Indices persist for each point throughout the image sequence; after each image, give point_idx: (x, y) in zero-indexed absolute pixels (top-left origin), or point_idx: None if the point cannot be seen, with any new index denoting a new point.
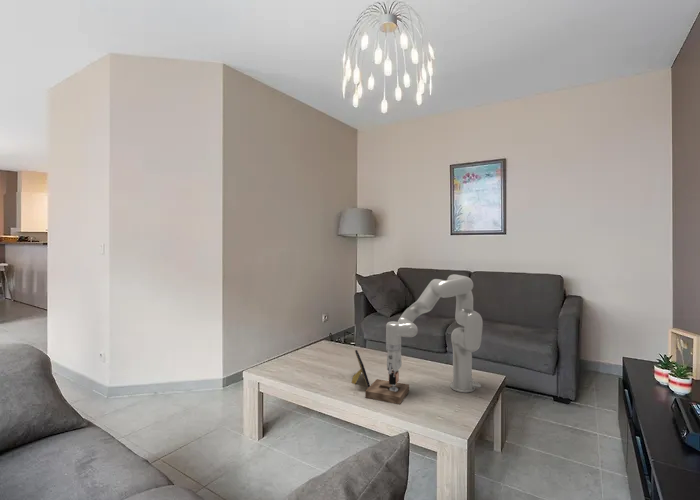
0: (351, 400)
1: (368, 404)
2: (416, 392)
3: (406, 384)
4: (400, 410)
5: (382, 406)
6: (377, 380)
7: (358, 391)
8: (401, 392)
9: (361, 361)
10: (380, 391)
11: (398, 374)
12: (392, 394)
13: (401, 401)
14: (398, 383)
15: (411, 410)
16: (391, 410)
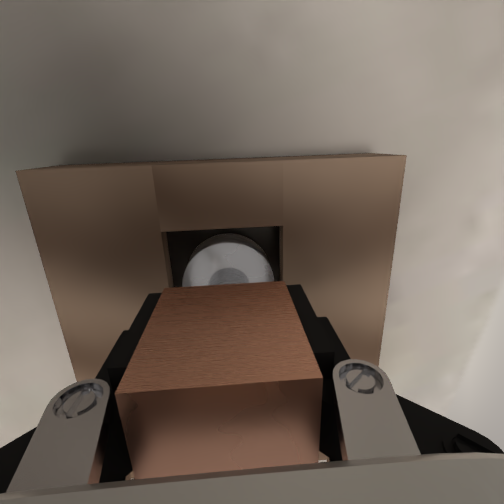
0: None
1: (431, 357)
2: (41, 80)
3: (39, 203)
4: (473, 111)
5: (438, 268)
6: None
7: None
8: (282, 182)
9: None
10: None
11: (149, 349)
12: (362, 251)
13: (330, 155)
14: (73, 293)
15: (454, 3)
16: (487, 183)
